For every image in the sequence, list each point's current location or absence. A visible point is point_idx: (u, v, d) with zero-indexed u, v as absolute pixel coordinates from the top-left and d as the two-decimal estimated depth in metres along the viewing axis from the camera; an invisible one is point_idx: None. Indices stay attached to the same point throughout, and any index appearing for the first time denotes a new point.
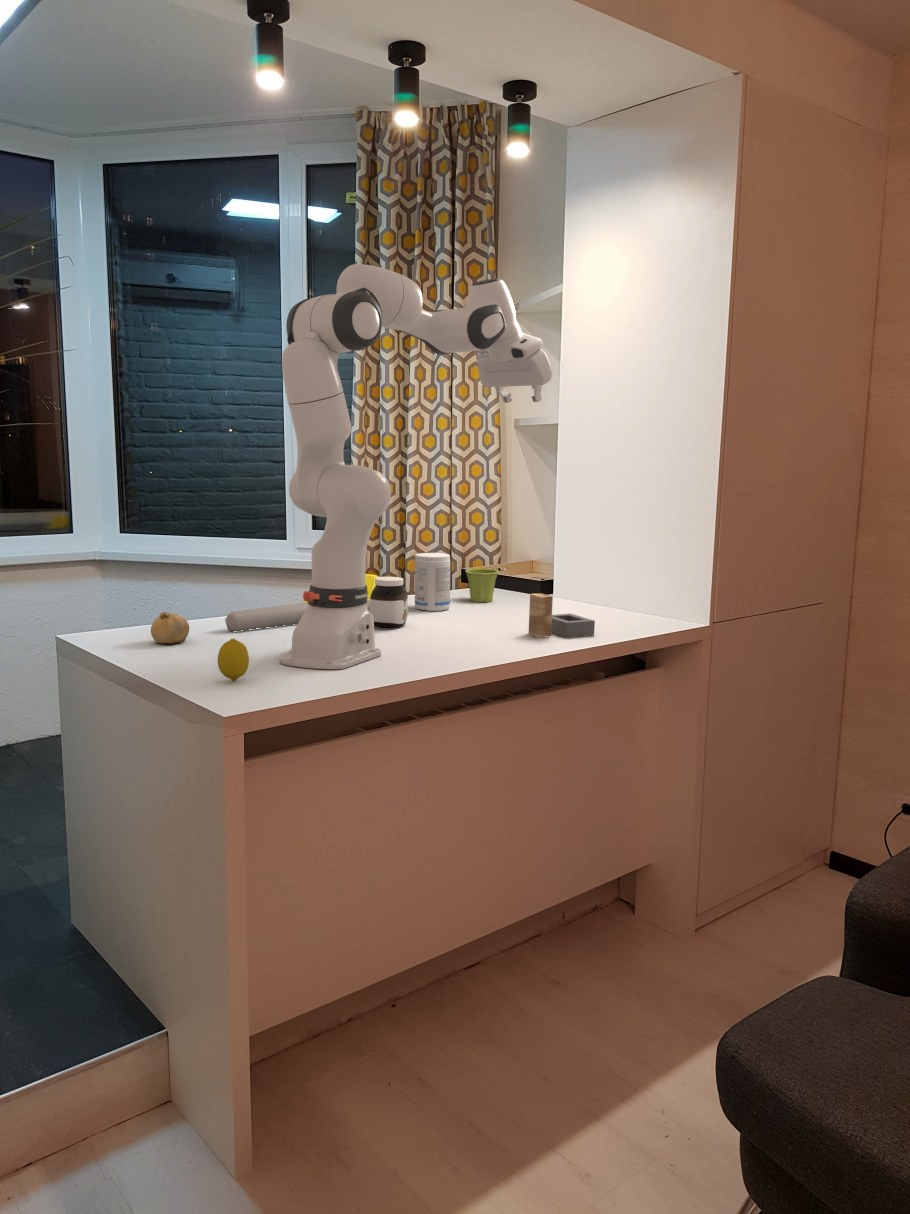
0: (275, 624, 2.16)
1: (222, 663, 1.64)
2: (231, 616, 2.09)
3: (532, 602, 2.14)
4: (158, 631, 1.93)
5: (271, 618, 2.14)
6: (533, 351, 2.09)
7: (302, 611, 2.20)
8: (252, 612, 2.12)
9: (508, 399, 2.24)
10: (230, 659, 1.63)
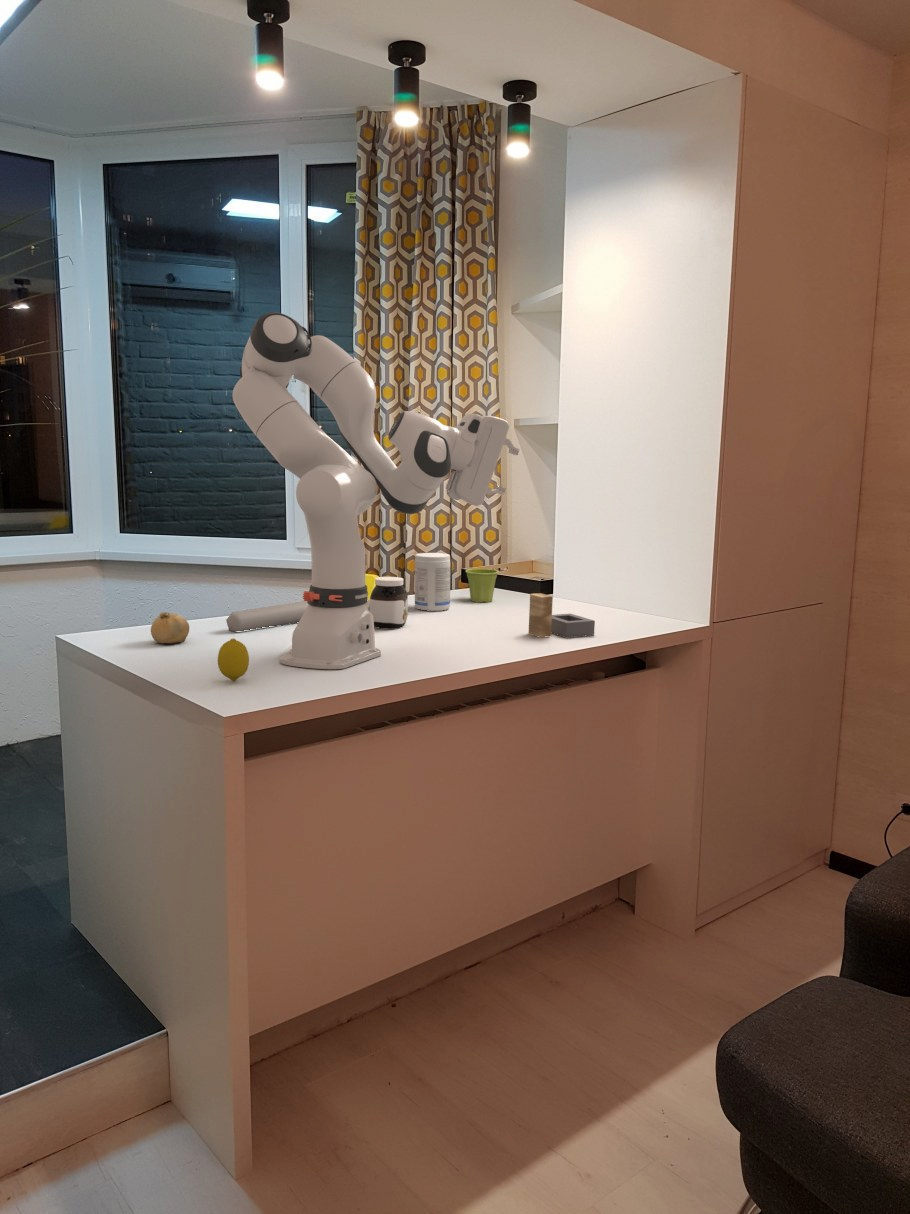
0: (274, 623, 2.16)
1: (222, 663, 1.64)
2: (233, 616, 2.08)
3: (532, 602, 2.14)
4: (158, 631, 1.93)
5: (271, 617, 2.15)
6: None
7: (299, 609, 2.21)
8: (253, 612, 2.12)
9: (502, 487, 2.09)
10: (230, 659, 1.63)
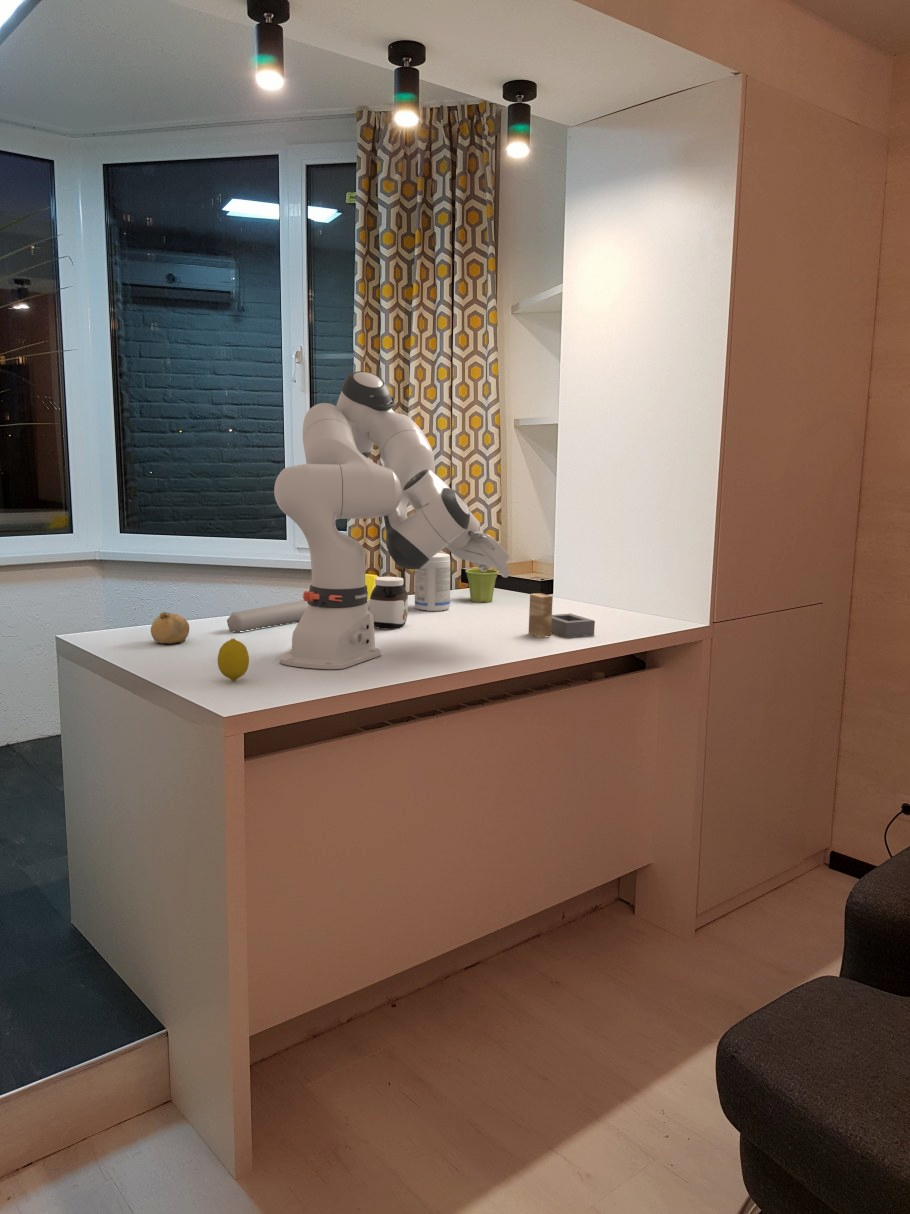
0: (274, 623, 2.17)
1: (222, 663, 1.64)
2: (234, 617, 2.08)
3: (532, 602, 2.14)
4: (158, 631, 1.93)
5: (271, 617, 2.15)
6: None
7: (297, 609, 2.22)
8: (253, 612, 2.12)
9: None
10: (230, 659, 1.63)
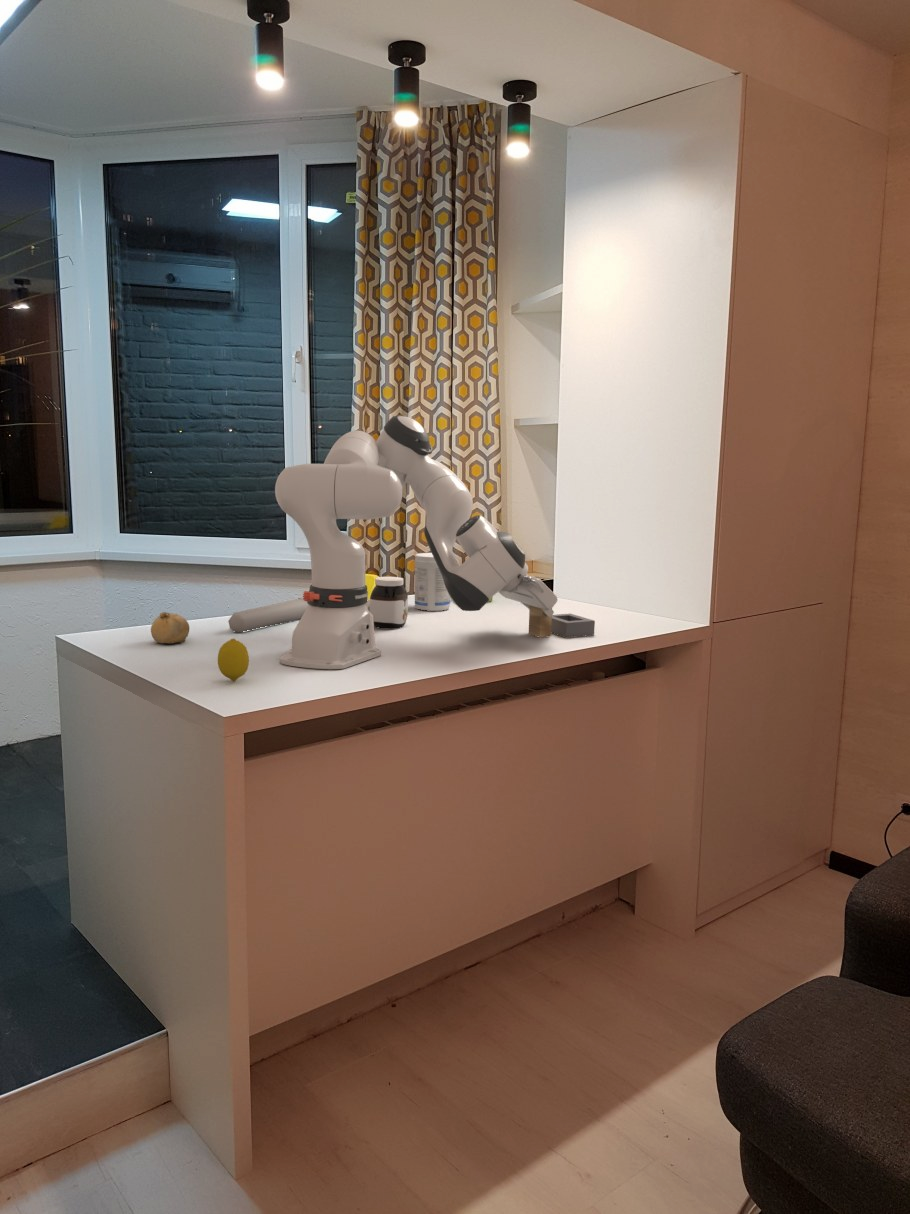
0: (273, 623, 2.17)
1: (222, 663, 1.64)
2: (237, 617, 2.08)
3: None
4: (158, 631, 1.93)
5: (270, 617, 2.16)
6: None
7: (294, 608, 2.23)
8: (254, 612, 2.12)
9: None
10: (230, 659, 1.63)
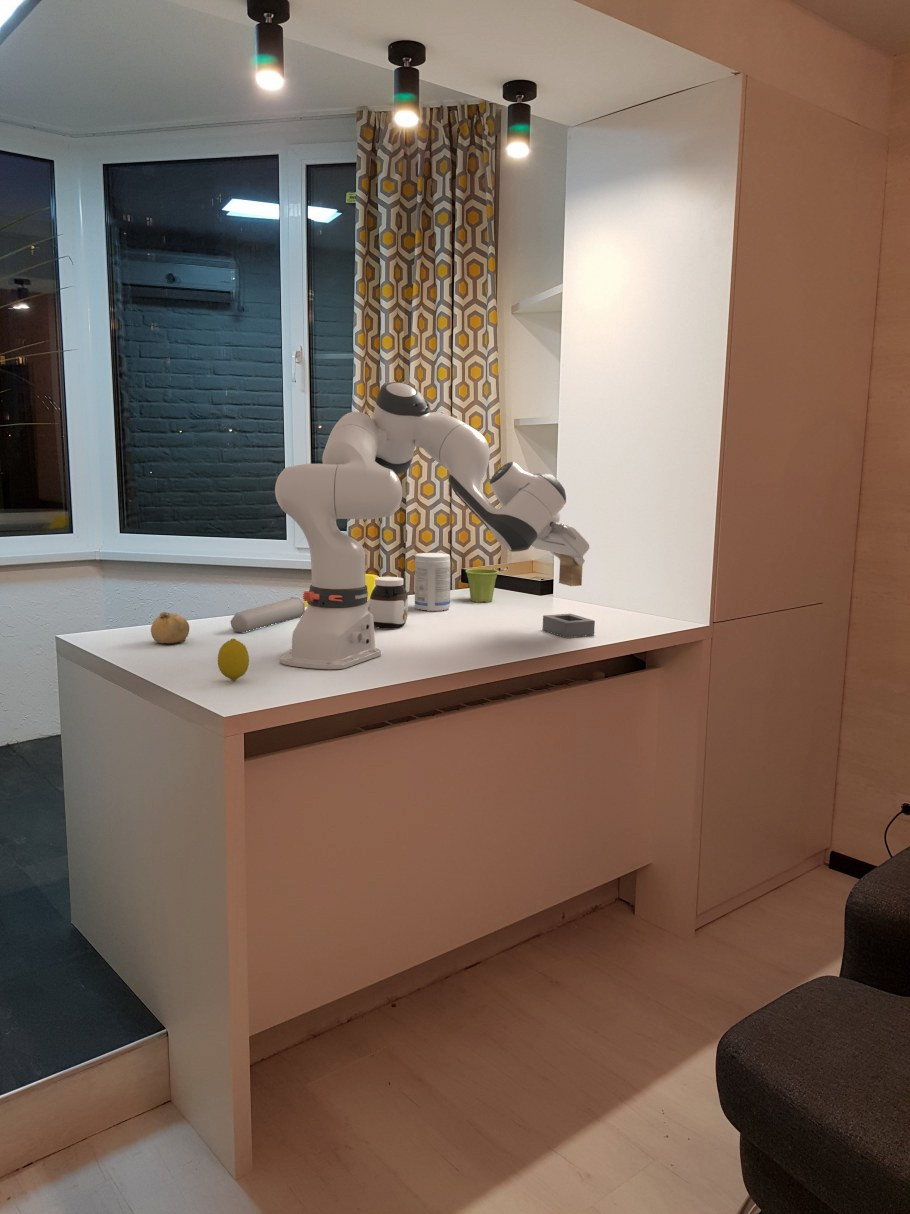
0: (271, 622, 2.18)
1: (222, 663, 1.64)
2: (240, 617, 2.08)
3: None
4: (158, 631, 1.93)
5: (270, 616, 2.16)
6: None
7: (290, 607, 2.24)
8: (255, 612, 2.12)
9: None
10: (230, 659, 1.63)
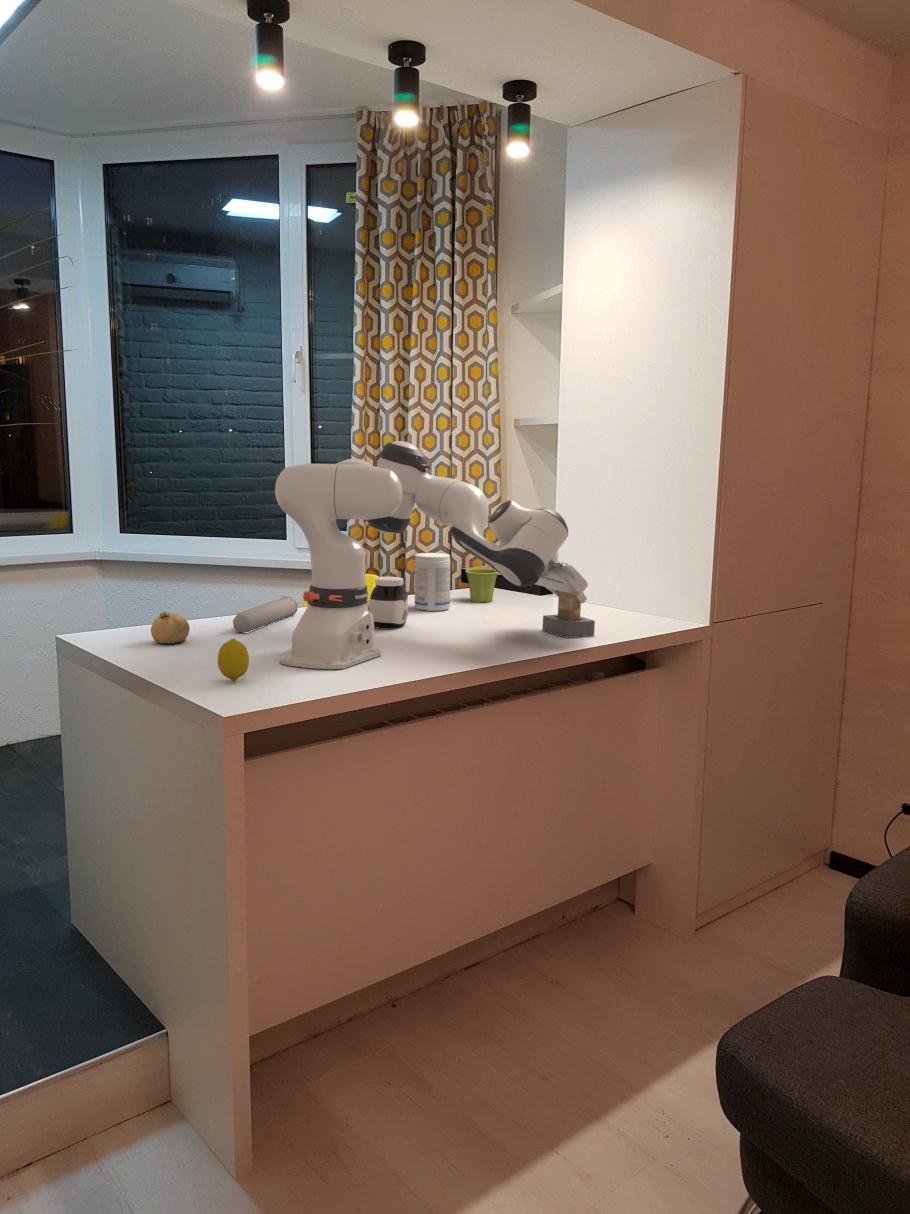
0: (270, 622, 2.18)
1: (222, 663, 1.64)
2: (243, 617, 2.08)
3: (561, 596, 2.18)
4: (158, 631, 1.93)
5: (269, 616, 2.17)
6: None
7: (285, 606, 2.24)
8: (255, 612, 2.13)
9: None
10: (230, 659, 1.63)
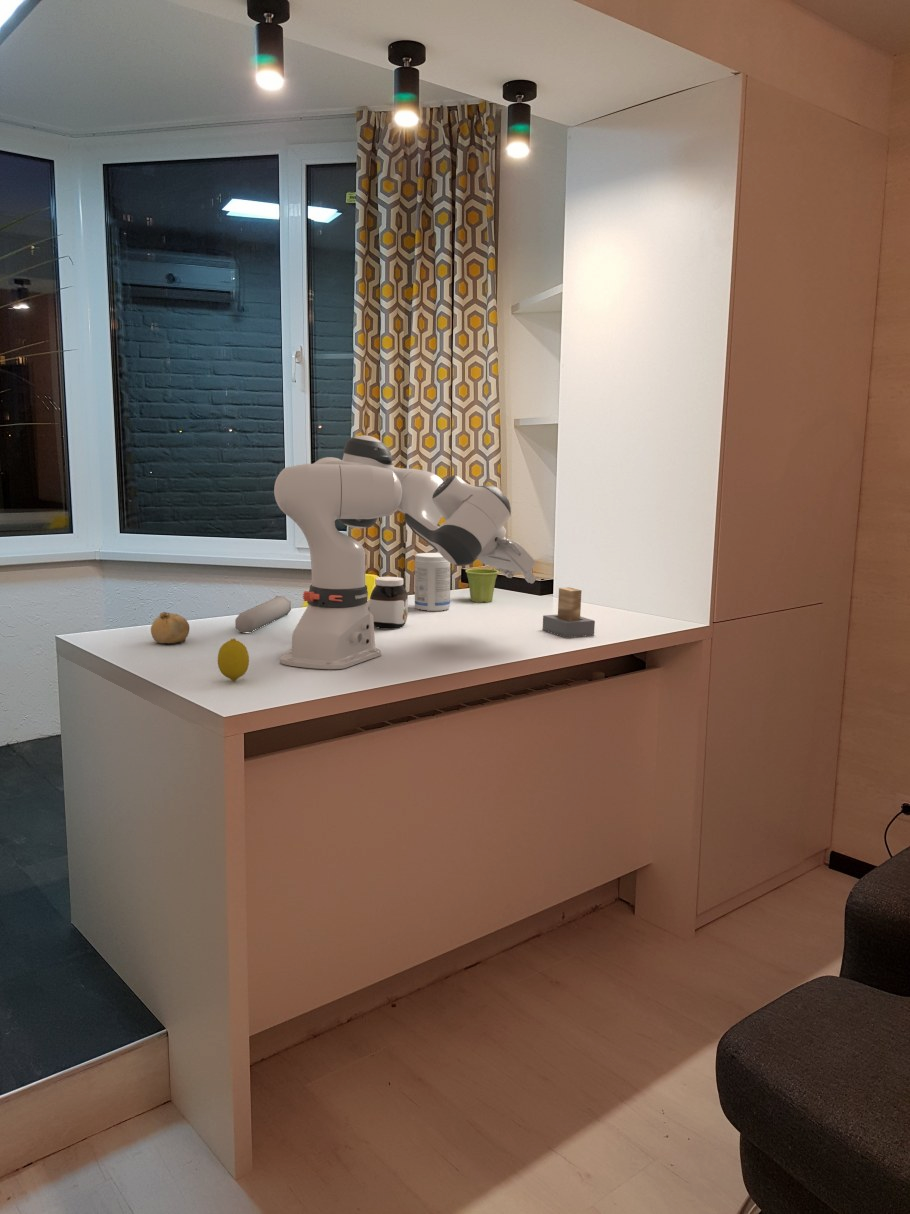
0: (268, 621, 2.19)
1: (222, 663, 1.64)
2: (246, 617, 2.08)
3: (561, 596, 2.18)
4: (158, 631, 1.93)
5: (268, 616, 2.17)
6: None
7: (281, 606, 2.25)
8: (256, 611, 2.13)
9: None
10: (230, 659, 1.63)
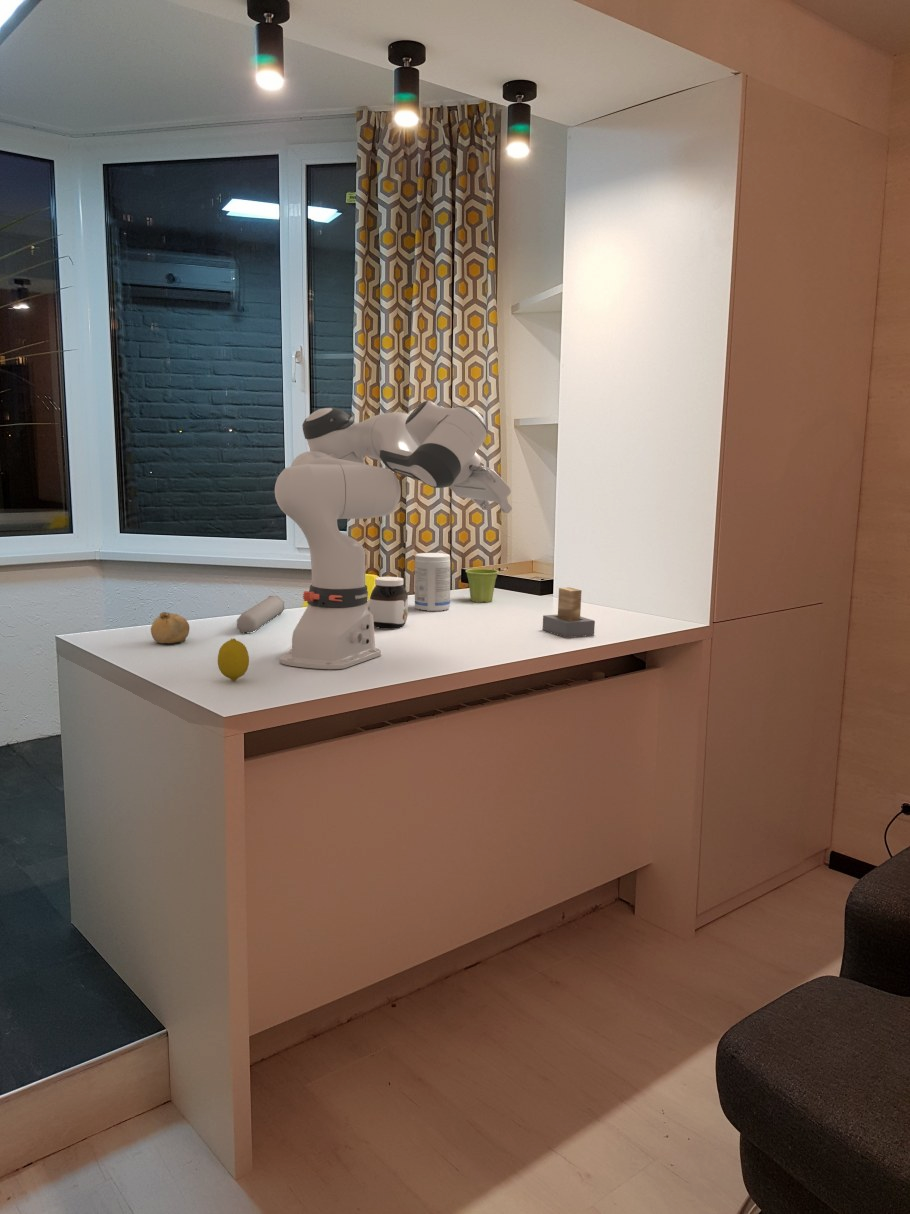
0: (267, 621, 2.19)
1: (222, 663, 1.64)
2: (249, 617, 2.08)
3: (561, 596, 2.18)
4: (158, 631, 1.93)
5: (267, 615, 2.17)
6: None
7: (276, 606, 2.25)
8: (256, 611, 2.13)
9: None
10: (230, 659, 1.63)
